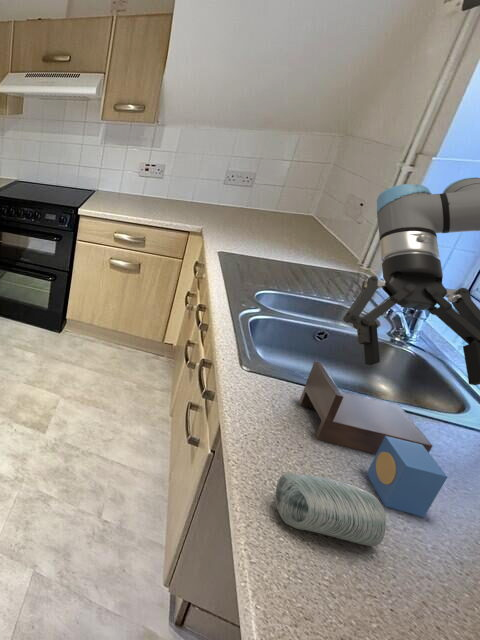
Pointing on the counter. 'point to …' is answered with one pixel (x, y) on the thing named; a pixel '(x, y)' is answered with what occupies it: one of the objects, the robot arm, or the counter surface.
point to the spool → (330, 508)
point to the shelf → (356, 416)
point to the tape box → (405, 476)
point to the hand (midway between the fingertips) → (423, 373)
